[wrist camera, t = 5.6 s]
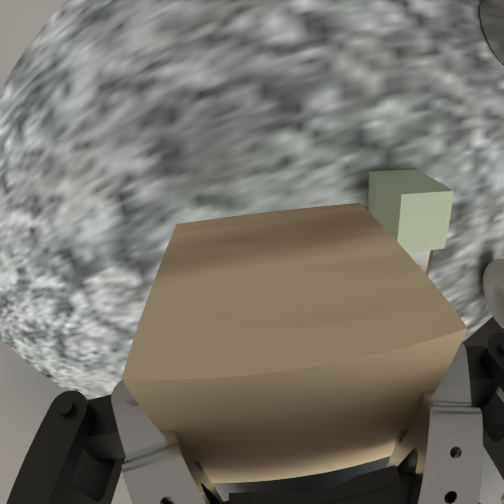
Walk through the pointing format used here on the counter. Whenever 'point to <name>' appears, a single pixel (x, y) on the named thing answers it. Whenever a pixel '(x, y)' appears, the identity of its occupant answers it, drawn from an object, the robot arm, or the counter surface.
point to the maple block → (289, 342)
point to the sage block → (411, 208)
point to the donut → (495, 289)
